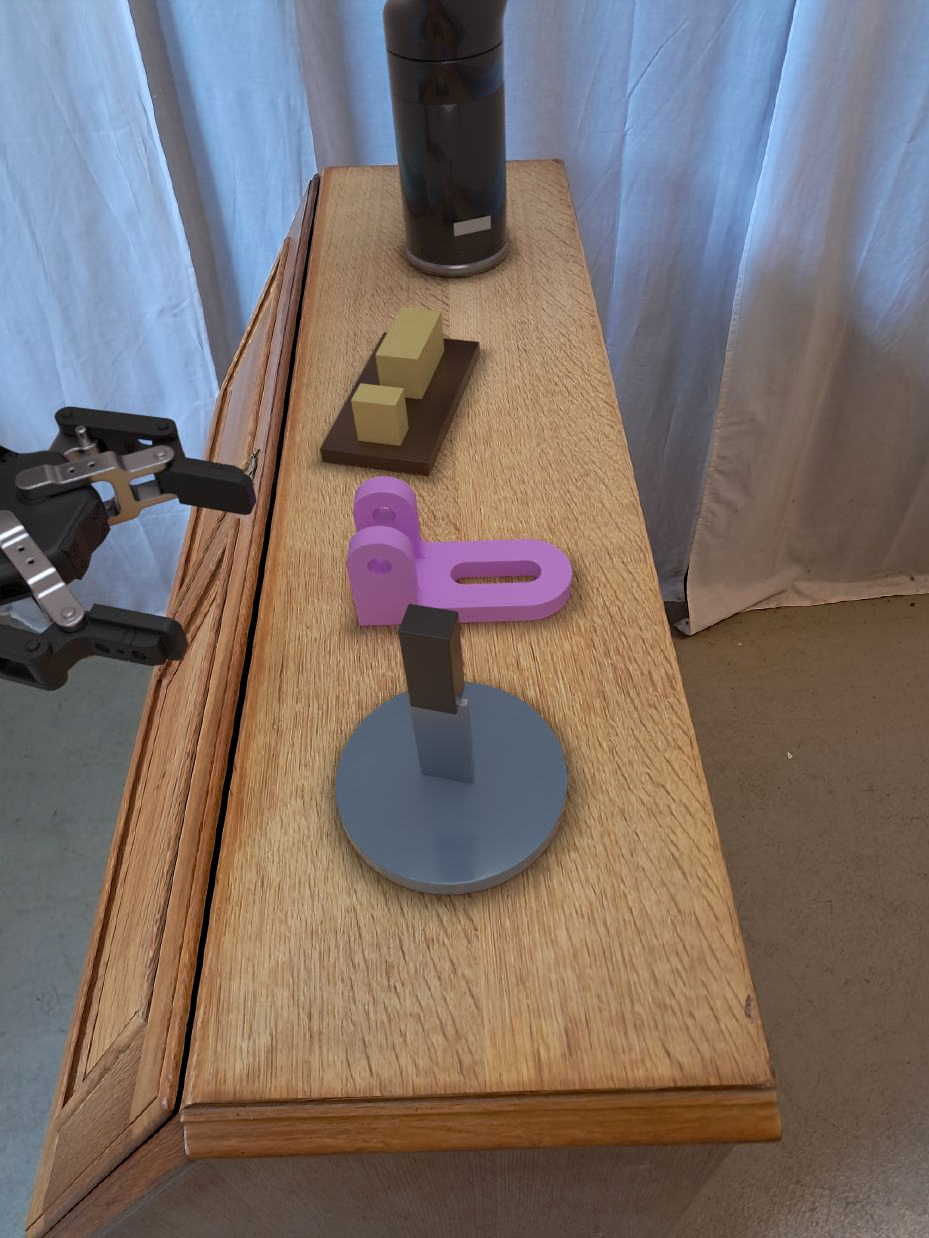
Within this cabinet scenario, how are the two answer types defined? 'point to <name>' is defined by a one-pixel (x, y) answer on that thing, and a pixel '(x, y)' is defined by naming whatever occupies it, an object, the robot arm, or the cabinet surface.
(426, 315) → the butter
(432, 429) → the board
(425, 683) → the knife
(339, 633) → the cabinet surface
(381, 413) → the butter slice
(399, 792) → the plate
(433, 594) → the bracket
